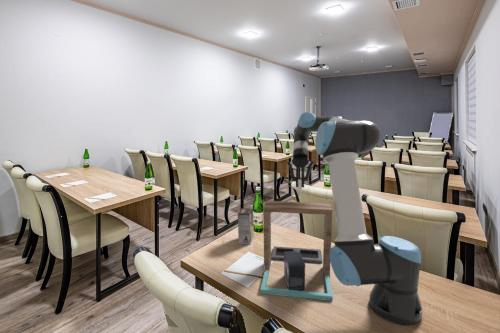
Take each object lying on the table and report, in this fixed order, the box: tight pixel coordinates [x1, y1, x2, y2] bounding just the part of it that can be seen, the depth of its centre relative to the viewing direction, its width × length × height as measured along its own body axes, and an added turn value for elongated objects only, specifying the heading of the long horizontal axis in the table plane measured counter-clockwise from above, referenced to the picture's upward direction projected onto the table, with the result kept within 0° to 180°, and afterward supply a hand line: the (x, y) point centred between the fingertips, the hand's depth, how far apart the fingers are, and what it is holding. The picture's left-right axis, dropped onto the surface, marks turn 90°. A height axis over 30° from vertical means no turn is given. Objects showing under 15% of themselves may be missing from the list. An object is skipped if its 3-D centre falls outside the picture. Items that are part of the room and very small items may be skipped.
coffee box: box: [237, 207, 255, 245], centre depth 137 cm, size 9×6×16 cm
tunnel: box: [262, 200, 333, 279], centre depth 108 cm, size 8×26×28 cm, turn 79°
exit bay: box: [259, 270, 334, 302], centre depth 100 cm, size 13×25×2 cm, turn 79°
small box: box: [283, 251, 306, 291], centre depth 101 cm, size 11×6×10 cm, turn 2°
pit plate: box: [271, 246, 323, 264], centre depth 122 cm, size 10×22×1 cm, turn 79°
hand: (299, 193), depth 123 cm, fingers closed
